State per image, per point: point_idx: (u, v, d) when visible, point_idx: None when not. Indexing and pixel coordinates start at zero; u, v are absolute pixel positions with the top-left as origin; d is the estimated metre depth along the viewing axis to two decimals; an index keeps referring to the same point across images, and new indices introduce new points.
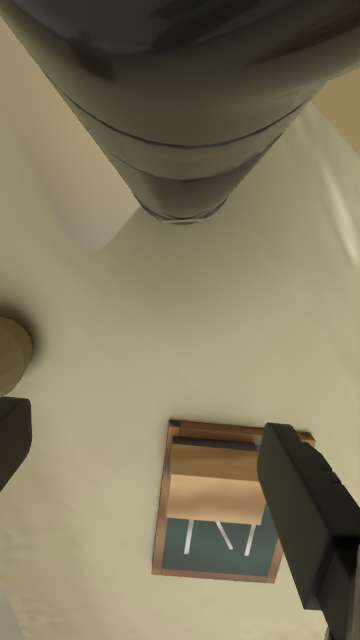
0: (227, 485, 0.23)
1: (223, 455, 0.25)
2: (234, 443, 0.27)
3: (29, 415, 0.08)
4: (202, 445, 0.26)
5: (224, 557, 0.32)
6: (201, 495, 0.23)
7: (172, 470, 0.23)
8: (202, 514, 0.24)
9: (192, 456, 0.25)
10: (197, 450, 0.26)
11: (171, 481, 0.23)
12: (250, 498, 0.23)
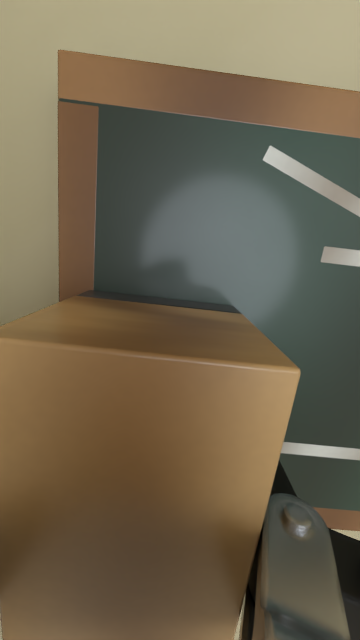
0: (25, 535, 0.05)
1: None
2: None
3: None
4: None
5: None
6: (96, 620, 0.05)
7: None
8: (207, 615, 0.05)
9: None
10: None
11: None
12: (101, 434, 0.04)
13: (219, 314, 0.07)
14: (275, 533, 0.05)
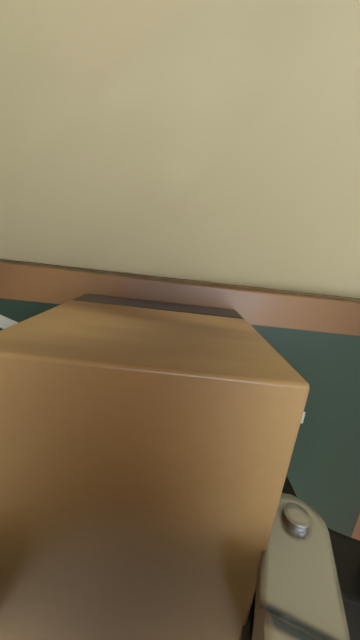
0: (16, 557, 0.04)
1: None
2: None
3: None
4: None
5: (304, 476, 0.10)
6: None
7: None
8: (208, 638, 0.05)
9: None
10: None
11: None
12: (95, 452, 0.04)
13: (221, 320, 0.07)
14: (275, 533, 0.05)
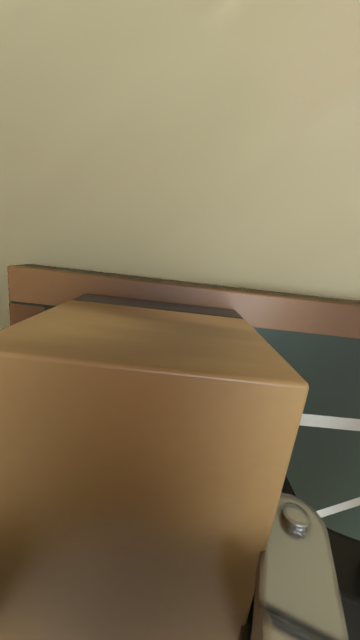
0: (15, 557, 0.04)
1: None
2: None
3: None
4: None
5: None
6: None
7: None
8: (208, 638, 0.05)
9: None
10: None
11: None
12: (94, 452, 0.04)
13: (220, 319, 0.07)
14: (274, 532, 0.05)
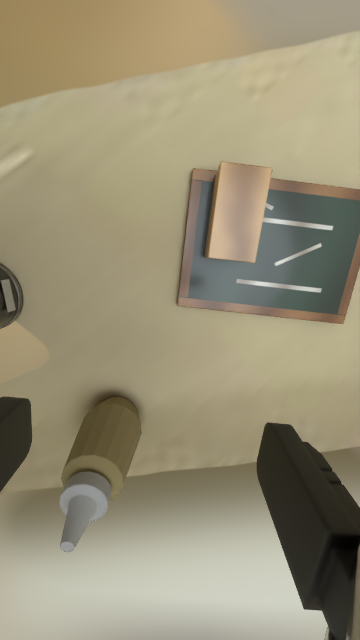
0: (221, 205, 0.25)
1: (211, 209, 0.28)
2: (211, 197, 0.29)
3: (29, 415, 0.08)
4: (208, 229, 0.30)
5: (331, 251, 0.31)
6: (231, 230, 0.26)
7: (207, 256, 0.27)
8: (254, 228, 0.26)
9: (208, 238, 0.28)
10: (208, 234, 0.29)
11: (215, 257, 0.27)
12: (238, 181, 0.25)
13: None
14: None
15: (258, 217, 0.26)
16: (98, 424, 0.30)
